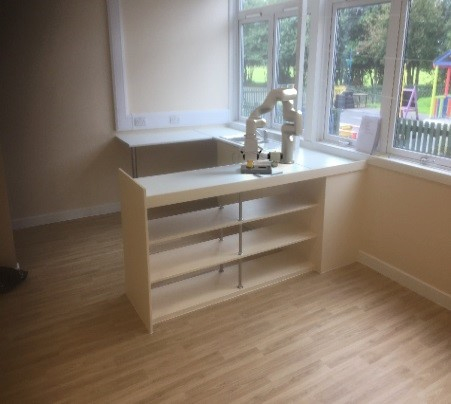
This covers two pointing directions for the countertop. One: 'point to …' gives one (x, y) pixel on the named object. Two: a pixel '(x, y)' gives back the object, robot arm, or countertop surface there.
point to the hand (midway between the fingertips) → (250, 159)
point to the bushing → (249, 163)
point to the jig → (256, 169)
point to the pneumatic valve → (274, 157)
